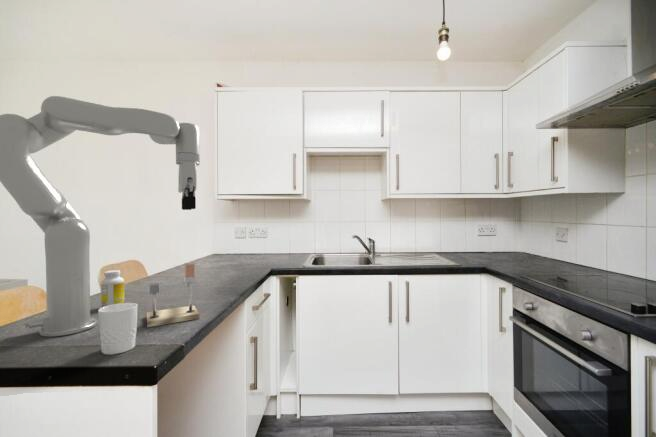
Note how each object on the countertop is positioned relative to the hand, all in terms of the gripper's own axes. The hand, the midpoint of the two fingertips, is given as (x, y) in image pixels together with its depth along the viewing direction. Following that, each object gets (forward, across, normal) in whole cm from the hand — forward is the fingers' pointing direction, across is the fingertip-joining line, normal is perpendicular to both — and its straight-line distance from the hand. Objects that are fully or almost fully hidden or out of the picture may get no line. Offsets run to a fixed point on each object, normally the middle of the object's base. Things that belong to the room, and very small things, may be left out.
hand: (188, 209), depth 108 cm
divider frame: (+32, +10, -6) cm, 34 cm away
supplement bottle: (+34, -15, -23) cm, 44 cm away
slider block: (+32, +9, -1) cm, 34 cm away
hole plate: (+34, +9, -6) cm, 36 cm away
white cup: (+34, +28, -19) cm, 48 cm away
